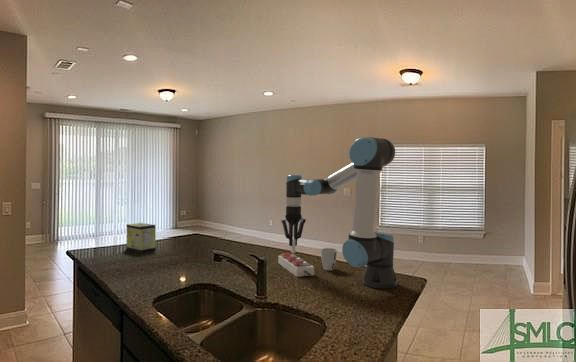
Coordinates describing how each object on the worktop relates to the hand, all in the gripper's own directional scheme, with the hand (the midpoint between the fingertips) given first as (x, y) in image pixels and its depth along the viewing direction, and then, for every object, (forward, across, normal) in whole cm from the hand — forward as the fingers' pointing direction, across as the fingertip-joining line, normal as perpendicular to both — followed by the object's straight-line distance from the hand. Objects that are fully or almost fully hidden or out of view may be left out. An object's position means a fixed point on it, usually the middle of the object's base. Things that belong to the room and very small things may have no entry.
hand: (292, 252), depth 201 cm
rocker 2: (+4, 0, -2) cm, 4 cm away
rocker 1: (+4, 0, -11) cm, 12 cm away
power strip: (+9, -2, +1) cm, 9 cm away
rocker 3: (+4, 0, +7) cm, 8 cm away
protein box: (+10, +73, -73) cm, 104 cm away
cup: (+9, -18, +4) cm, 21 cm away
